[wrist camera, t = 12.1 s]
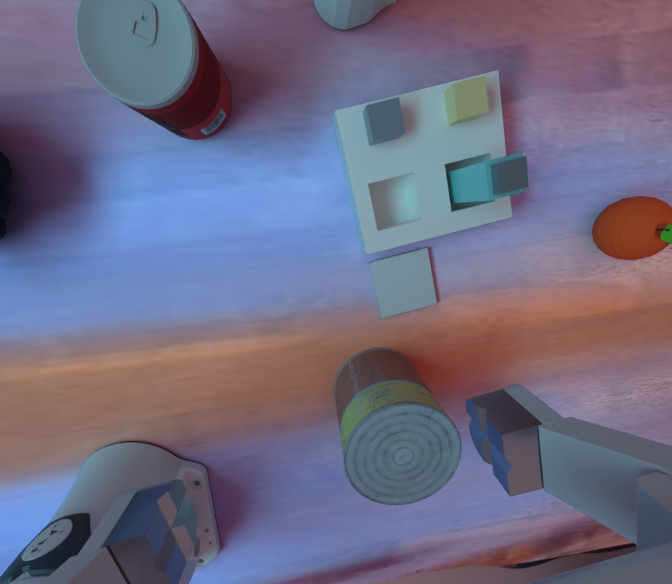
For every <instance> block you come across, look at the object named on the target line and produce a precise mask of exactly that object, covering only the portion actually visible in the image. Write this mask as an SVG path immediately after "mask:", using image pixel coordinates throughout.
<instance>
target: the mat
mask: <svg viewBox="0 0 672 584" xmlns="http://www.w3.org/2000/svg"><path fill="white" fill-rule="evenodd" d="M369 267H370V271H371V276H372V280H373V285H374V290H375V294H376V299H377V303H378V308H379V312H380V317H381V318H385V317H389V316H393V315H396V314H400V313H404V312H408V311H412V310H415V309H419V308H423V307H427V306H431V305H434V304H437V301H436V295H435V289H434V283H433V277H432V271H431V265H430V259H429V253H428V248H426V247H425V248H421V249H418V250H414V251H410V252H406V253H402V254H398V255H394V256H391V257H387V258H383V259H379V260H375V261H371V262H369Z"/></svg>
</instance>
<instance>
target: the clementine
mask: <svg viewBox="0 0 672 584" xmlns="http://www.w3.org/2000/svg"><path fill="white" fill-rule="evenodd" d="M592 235H593V239H594V242H595V244H596V245H597V247H598V248H599V249H600V250H601V251H602V252H604V253H605V254H607V255H609V256H611V257H614V258H618V259H625V260H636V259H641V258H645V257H649V256H652V255H654V254H656V253H658V252H659V251H661V250H663V249H664V248H665V247H667V246H668V245H669V244H672V208H671V207H670V206H669V205H668V204H667V203H665V202H663V201H661V200H658V199H656V198H652V197H642V196H637V197H632V198H626V199H622V200H620V201H618V202H615V203H613V204H611V205H609V206H608V207H607V208H605V209H604V210H603V211H602V212H601V213H600V215H599V216H598V217H597V218H596V220H595V222H594V225H593V228H592ZM669 249H672V248H669Z"/></svg>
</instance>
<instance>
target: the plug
mask: <svg viewBox="0 0 672 584" xmlns="http://www.w3.org/2000/svg"><path fill="white" fill-rule="evenodd" d="M446 177H447V184H448V191H449V198H450V203H463V202H476V201H489V200H493V199H497V198H501V197H505V196H509V195H513V194H517V193H521V192H525V188H526V187H528V176H527V163H526V156H525V157H522V152H520V153H516V154H512V155H508V156H504V157H500V158H496V159H492V160H488V161H484V162H481V163H478V164H474V165H471V166H468V167H464V168H461V169H458V170H454V171H451V172H447V173H446Z"/></svg>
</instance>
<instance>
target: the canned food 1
mask: <svg viewBox="0 0 672 584" xmlns="http://www.w3.org/2000/svg"><path fill="white" fill-rule="evenodd" d="M75 34H76V41H77V46H78V50H79V53H80V55H81V58H82V60H83V63H84V65H85V66H86V68H87V70H88V71H89V73H90V74H91V76H92V77H93V78H94V80H95V81H96V82H97V83H98V84H99V85H100V86H101V87H102V88H103V89H104V90H105V91H107V92H108V93H109V94H110V95H111V96H113V97H114V98H115V99H117V100H118V101H120V102H122V103H123V104H125V105H126V106H128V107H130V108H131V109H133V110H135V111H137V112H138V113H140V114H142V115H143V116H145V117H147V118H149V119H150V120H152V121H154V122H155V123H157V124H159V125H161V126H162V127H164V128H166V129H167V130H169V131H171V132H173V133H174V134H176V135H178V136H180V137H183V138H186V139H193V140H197V139H204V138H207V137H210V136H212V135H213V134H215V133H217V132H218V131H219V130H220V129H221V128H222V127H223V125H224V124H225V123H226V121H227V118H228V116H229V113H230V108H231V89H230V85H229V82H228V79H227V77H226V75H225V73H224V71H223V69H222V67H221V66H220V64H219V62H218V60H217V59H216V57H215V55H214V54H213V52H212V50H211V49H210V47H209V45H208V43H207V42H206V40H205V38H204V37H203V35H202V33H201V31H200V30H199V28H198V26H197V25H196V23H195V21H194V19H193V18H192V16H191V15H190V13H189V12H188V10H187V8H186V7H185V5H184V4H183V3H182V1H181V0H80V1H79V5H78V8H77V11H76V19H75Z"/></svg>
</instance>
